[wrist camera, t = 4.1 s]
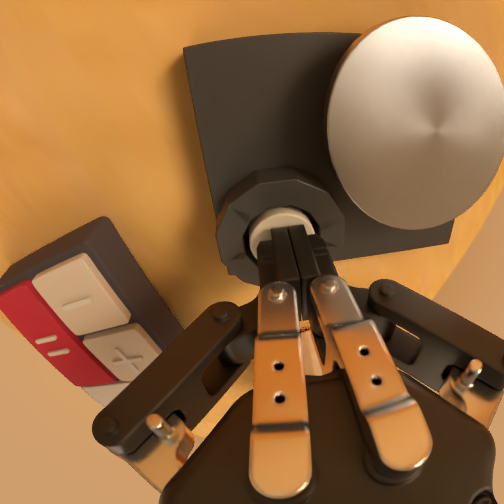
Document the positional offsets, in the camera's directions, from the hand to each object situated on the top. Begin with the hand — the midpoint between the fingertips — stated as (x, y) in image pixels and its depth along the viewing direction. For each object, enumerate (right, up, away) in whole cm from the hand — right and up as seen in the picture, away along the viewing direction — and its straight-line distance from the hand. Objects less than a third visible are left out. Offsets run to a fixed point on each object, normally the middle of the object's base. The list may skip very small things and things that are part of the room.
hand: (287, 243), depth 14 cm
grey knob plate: (+3, +5, +1) cm, 6 cm away
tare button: (0, +1, +1) cm, 2 cm away
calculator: (-12, -5, +7) cm, 15 cm away
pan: (+6, +5, -3) cm, 8 cm away
